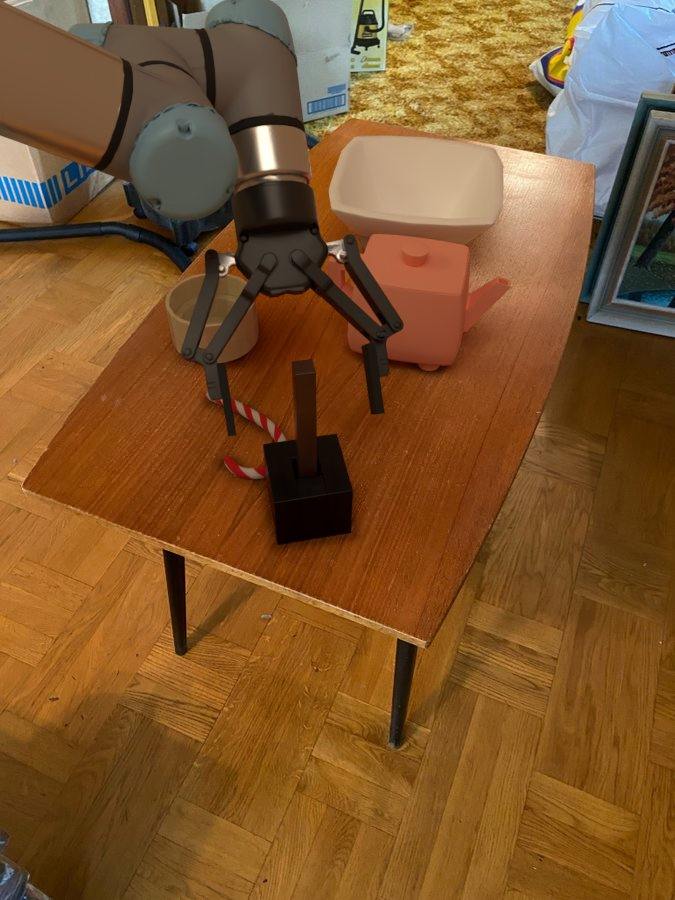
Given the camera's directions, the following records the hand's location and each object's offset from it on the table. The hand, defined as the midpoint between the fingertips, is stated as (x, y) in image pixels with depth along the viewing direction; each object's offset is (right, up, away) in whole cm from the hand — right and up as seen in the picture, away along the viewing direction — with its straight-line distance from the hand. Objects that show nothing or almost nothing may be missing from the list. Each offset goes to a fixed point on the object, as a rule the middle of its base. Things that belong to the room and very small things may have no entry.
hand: (306, 425), depth 65 cm
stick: (0, -9, +9) cm, 13 cm away
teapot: (+12, +12, +28) cm, 32 cm away
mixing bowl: (-13, +12, +27) cm, 33 cm away
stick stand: (0, -9, +9) cm, 13 cm away
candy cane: (-8, -1, +16) cm, 18 cm away
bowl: (+14, +30, +44) cm, 55 cm away
